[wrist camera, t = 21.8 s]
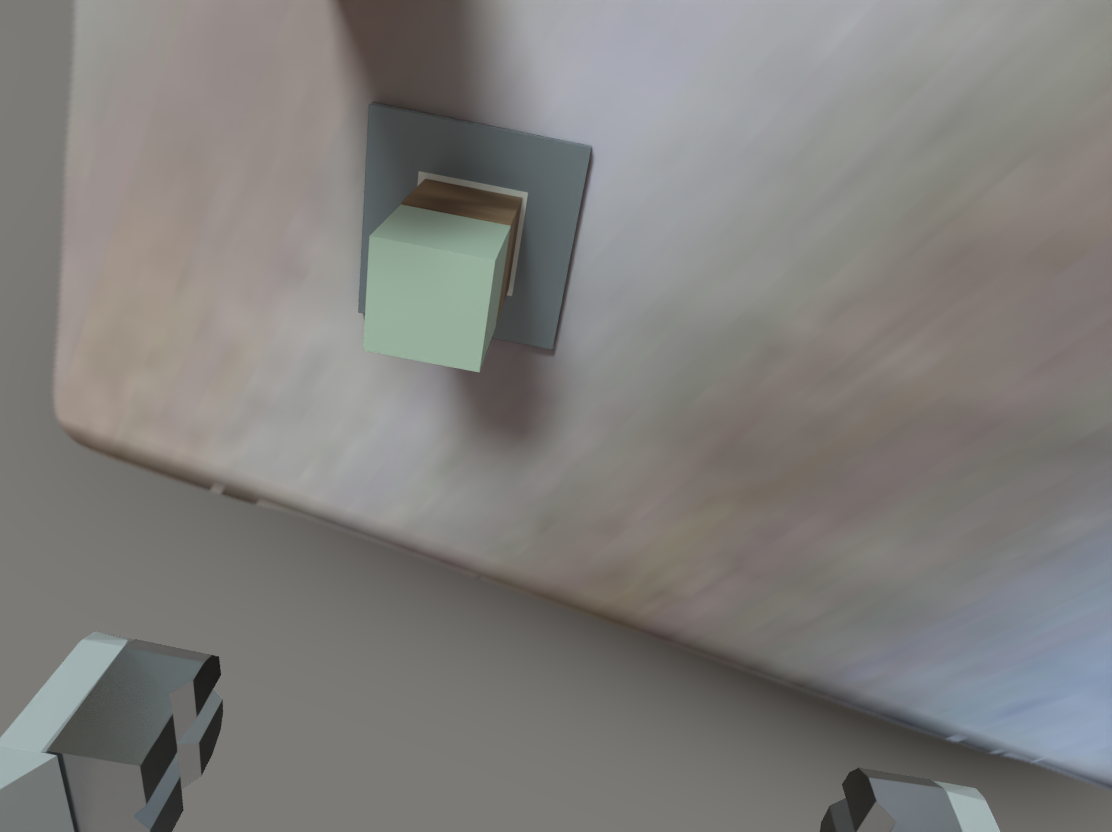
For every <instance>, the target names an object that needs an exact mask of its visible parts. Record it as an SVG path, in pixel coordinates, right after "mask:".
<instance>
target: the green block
mask: <svg viewBox="0 0 1112 832" xmlns="http://www.w3.org/2000/svg"><path fill="white" fill-rule="evenodd" d="M510 227H511V226H509V225H504V224H499V223H494V222H488V221H483V220H478V219H473V218H468V217H463V216H458V215H453V214H448V213H442V212H437V211H432V210H427V209H422V208H417V207H412V206H407V205H402V204H401V205H400V206H399V207H398V208H397V209H396V210H395V211H394V212H393V213H392V214H391V215H390V216H389V217H388V218H387V219H386V220H385V221H384V222H383V223H382V224H381V225H380V226H379V227H378V228H377V229H376V230H375V231H374V232H373V233H372V234H371V235H370V236H369V253H368V271H367V289H366V306H365V324H364V342H363V350H364V351H369V352H374V353H379V354H385V355H390V356H395V357H400V358H406V359H411V360H416V361H421V362H427V363H432V364H437V365H442V366H448V367H453V368H458V369H463V370H469V371H474V372H480V369H481V367H482V364H483V361H484V358H485V355H486V353H487V350H488V347H489V344H490V341H491V338H492V336H493V333H494V330H495V327H496V321H497V314H498V307H499V301H500V294H501V287H502V281H503V274H504V267H505V261H506V254H507V247H508V240H509V234H510Z"/></svg>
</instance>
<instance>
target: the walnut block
mask: <svg viewBox="0 0 1112 832" xmlns="http://www.w3.org/2000/svg"><path fill="white" fill-rule="evenodd" d="M522 199H523V198H522V197H517V196H511V195H506V194H501V193H496V192H491V191H486V190H481V189H476V188H471V187H466V186H461V185H456V184H450V183H445V182H440V181H435V180H430V179H424V180H423V181H422V182H421V183H420V184H419V185H418V186H417V187H416V188H415V189H414V190H413V191H412V192H411V193H410V194H409V195H408V196H407V197H406V198H405V199H404V200H403V201H402V202H401V204H402V205H407V206H412V207H417V208H422V209H427V210H432V211H437V212H442V213H448V214H453V215H458V216H463V217H468V218H473V219H478V220H483V221H488V222H494V223H499V224H504V225H509V226H511V227H510V234H509V240H508V247H507V254H506V261H505V267H504V274H503V281H502V287H501V294H500V301H499V307H498V314H497V321H498V318H499V315H500V312H501V310H502V307H503V304H504V301H505V298H506V296H507V293H508V290H509V283H510V277H511V270H512V264H513V258H514V251H515V245H516V238H517V232H518V225H519V219H520V212H521V206H522ZM497 321H496V324H497Z"/></svg>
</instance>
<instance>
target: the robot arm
mask: <svg viewBox="0 0 1112 832" xmlns="http://www.w3.org/2000/svg"><path fill="white" fill-rule="evenodd" d="M220 676H221V669H220V661H219V656H214V655H210V654H205V653H200V652H195V651H190V650H185V649H181V648H176V647H171V646H166V645H161V644H156V643H151V642H146V641H142V640H137V639H131V638H125V637H121V636H115V635H110V634H105V633H99V632H94V633H92V634H90V635H89V636H88V637H86V638H84V639H83V640H81V641H80V642H79V643H78V645H77V646H76V647H75V648H74V649H73V651H72V652H71V653H70V654H69V655H68V657H67V658H66V659H65V660H64V661H63V663H62V664H61V665H60V666H59V668H58V669H57V670H56V671H55V672H54V674H53V675H52V676H51V677H50V678H49V680H48V681H47V682H46V683H45V684H44V686H43V687H42V688H41V689H40V691H39V692H38V693H37V694H36V695H35V697H34V698H33V699H32V700H31V701H30V703H29V704H28V705H27V706H26V707H25V709H24V710H23V711H22V712H21V713H20V715H19V716H18V717H17V718H16V720H15V721H14V722H13V723H12V724H11V726H10V727H9V728H8V729H7V731H6V732H5V733H4V734H3V735H2V736H1V738H0V832H172V831H173V829H174V827H175V825H176V823H177V821H178V820H179V818H180V816H181V813H182V812H183V800H182V789H183V788H184V787H186V786H188V785H189V784H190V783H192V782H193V781H195V780H196V779H198V778H199V777H201V776H202V774H203V772H204V770H205V768H206V766H207V764H208V762H209V760H210V758H211V756H212V754H213V751H214V748H215V745H216V742H217V739H218V736H219V733H220V730H221V724H222V717H223V700H222V698H221V697H220V696H219V695H218V694H217V692H216V691H215V690H214V689H213V688H214V687H215V685H216V683H217V681H218V679H219V678H220ZM842 786H843V790H844V793H845V797H846V798H844V799H842V800H840V801H838V802H836V803H834V804H832V805H830V806H829V808H828V810H827V812H826V814H825V816H824V818H823V820H822V822H821V828H820V832H1000V830H999V828H998V826H997V824H996V822H995V819H994V817H993V815H992V813H991V811H990V809H989V807H988V805H987V803H986V801H985V798H984V797H983V796H982V795H981V794H980V793H979V792H978V791H977V789H976V788H971V787H965V786H960V785H954V784H948V783H943V782H936V781H932V780H930V779H925V778H919V777H912V776H906V775H900V774H893V773H888V772H881V771H875V770H869V769H863V768H857V769H855V770H853V771H851V772H849V774H848V775H847V777H846V779H845V780H844V782H843V784H842Z"/></svg>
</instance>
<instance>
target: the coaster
mask: <svg viewBox="0 0 1112 832" xmlns="http://www.w3.org/2000/svg"><path fill="white" fill-rule="evenodd" d="M591 147H592V146H589V145H584V144H579V143H574V142H569V141H564V140H559V139H554V138H548V137H543V136H538V135H533V134H528V133H523V132H518V131H513V130H508V129H503V128H498V127H493V126H488V125H483V124H478V123H473V122H468V121H463V120H458V119H453V118H448V117H443V116H438V115H433V114H428V113H423V112H418V111H413V110H408V109H403V108H398V107H393V106H388V105H383V104H378V103H373V102H372V103H370V104H369V113H368V132H367V152H366V172H365V191H364V211H363V230H362V250H361V269H360V289H359V308H358V312H359V313H364V314H365V306H366V289H367V271H368V253H369V236H370V235H371V234H372V233H373V232H374V231H375V230H376V229H377V228H378V227H379V226H380V225H381V224H382V223H383V222H384V221H385V220H386V219H387V218H388V217H389V216H390V215H391V214H392V213H393V212H394V211H395V210H396V209H397V208H398V207H399V206H400V205H401V202H402V201H403V200H404V199H405V198H406V197H407V196H408V195H409V194H410V193H411V192H412V191H413V190H414V189H415V188H416V187H417V186H418V185H419V184H420V183H421V182H422V181H423V180H424V179H430V180H435V181H440V182H445V183H450V184H456V185H461V186H466V187H471V188H476V189H481V190H486V191H491V192H496V193H501V194H506V195H511V196H517V197H522V198H523V199H522V206H521V212H520V219H519V225H518V232H517V238H516V245H515V251H514V258H513V264H512V270H511V277H510V283H509V290H508V293H507V296H506V298H505V301H504V304H503V307H502V310H501V312H500V315H499V318H498V321H497V324H496V327H495V330H494V333H493V336H492V338H494V339H500V340H505V341H510V342H515V343H520V344H526V345H531V346H536V347H541V348H547V349H552V350H553V344H554V339H555V334H556V329H557V324H558V318H559V313H560V308H561V303H562V298H563V292H564V287H565V282H566V277H567V272H568V267H569V261H570V256H571V251H572V246H573V241H574V235H575V230H576V225H577V220H578V215H579V209H580V204H581V199H582V194H583V189H584V183H585V178H586V173H587V168H588V163H589V158H590V152H591Z"/></svg>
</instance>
